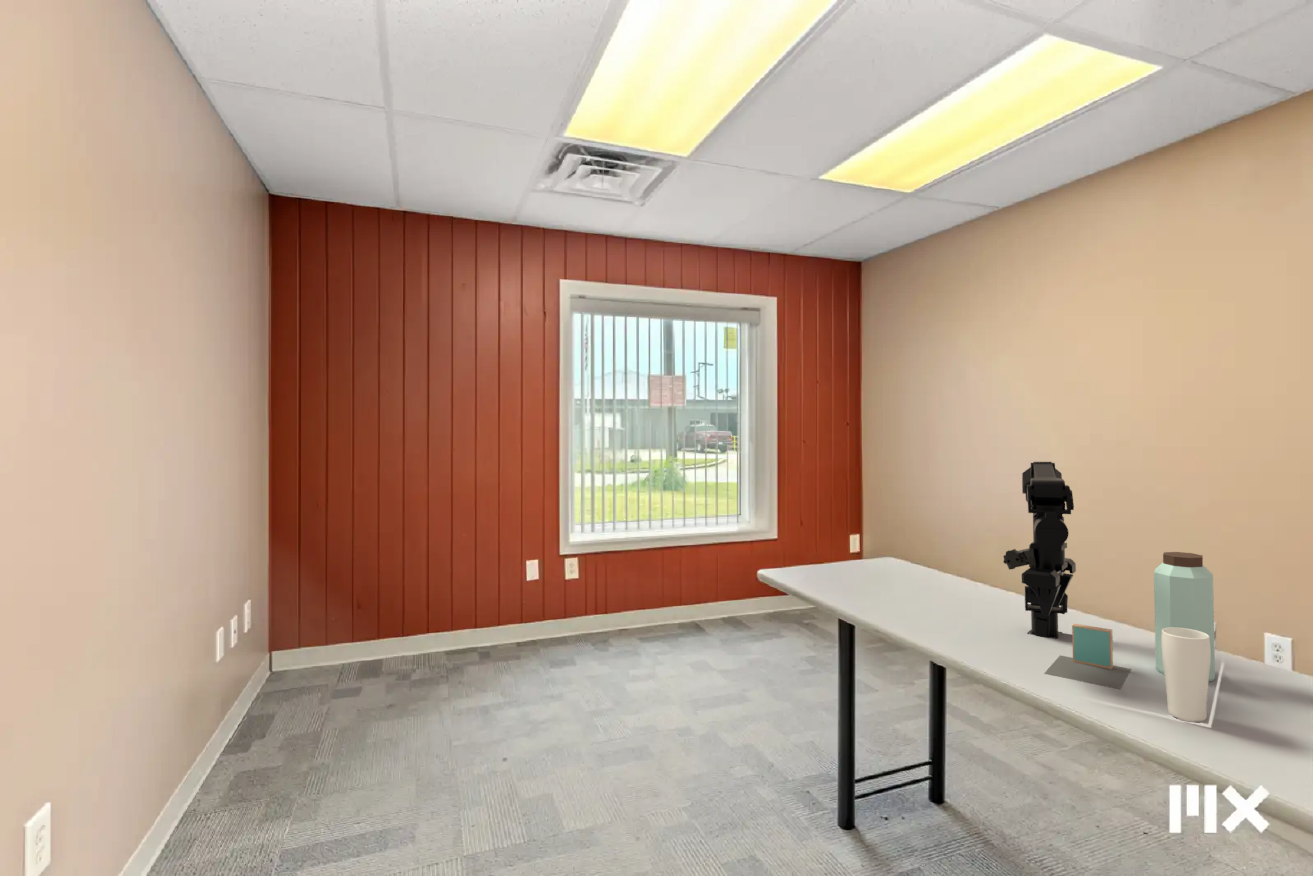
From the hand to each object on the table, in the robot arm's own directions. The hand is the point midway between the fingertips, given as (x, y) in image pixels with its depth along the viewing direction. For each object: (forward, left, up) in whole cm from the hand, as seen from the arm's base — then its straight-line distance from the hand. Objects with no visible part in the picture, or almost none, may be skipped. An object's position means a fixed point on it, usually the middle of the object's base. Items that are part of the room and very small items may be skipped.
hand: (1050, 611), depth 139 cm
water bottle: (-12, +21, -13) cm, 28 cm away
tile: (-7, +6, -12) cm, 15 cm away
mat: (-2, +6, -12) cm, 14 cm away
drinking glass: (+11, +23, -13) cm, 29 cm away
